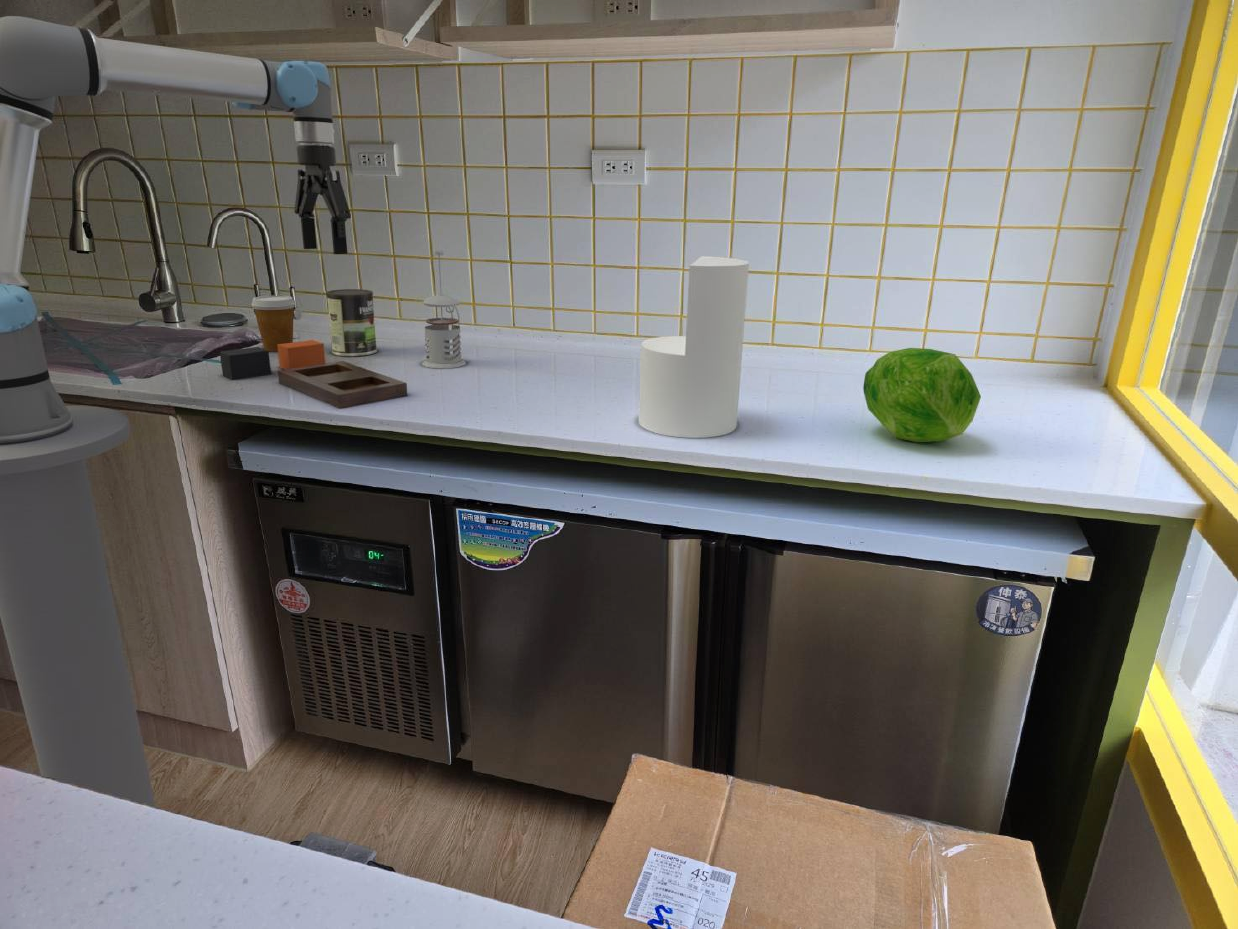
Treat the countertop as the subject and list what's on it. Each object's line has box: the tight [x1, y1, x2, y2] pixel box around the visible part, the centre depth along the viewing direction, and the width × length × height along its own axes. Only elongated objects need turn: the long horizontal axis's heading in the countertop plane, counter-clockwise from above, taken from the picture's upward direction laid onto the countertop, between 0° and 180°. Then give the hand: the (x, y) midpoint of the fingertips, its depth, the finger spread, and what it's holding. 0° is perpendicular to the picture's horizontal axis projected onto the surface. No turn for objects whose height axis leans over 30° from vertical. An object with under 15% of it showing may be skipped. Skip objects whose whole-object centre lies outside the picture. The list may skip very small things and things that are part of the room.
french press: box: [421, 248, 467, 369], centre depth 181 cm, size 10×12×25 cm
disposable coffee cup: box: [250, 295, 296, 353], centre depth 193 cm, size 10×10×12 cm
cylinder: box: [638, 255, 750, 439], centre depth 140 cm, size 17×17×28 cm
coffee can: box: [325, 288, 378, 357], centre depth 191 cm, size 10×10×14 cm
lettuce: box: [862, 347, 982, 443], centre depth 137 cm, size 17×20×17 cm
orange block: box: [277, 339, 326, 370], centre depth 177 cm, size 8×5×5 cm, turn 135°
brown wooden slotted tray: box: [277, 360, 408, 409], centre depth 160 cm, size 14×25×2 cm, turn 45°
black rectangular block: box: [219, 346, 272, 381], centre depth 169 cm, size 8×5×5 cm, turn 135°
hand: (325, 251), depth 175 cm, fingers open, 13 cm apart
